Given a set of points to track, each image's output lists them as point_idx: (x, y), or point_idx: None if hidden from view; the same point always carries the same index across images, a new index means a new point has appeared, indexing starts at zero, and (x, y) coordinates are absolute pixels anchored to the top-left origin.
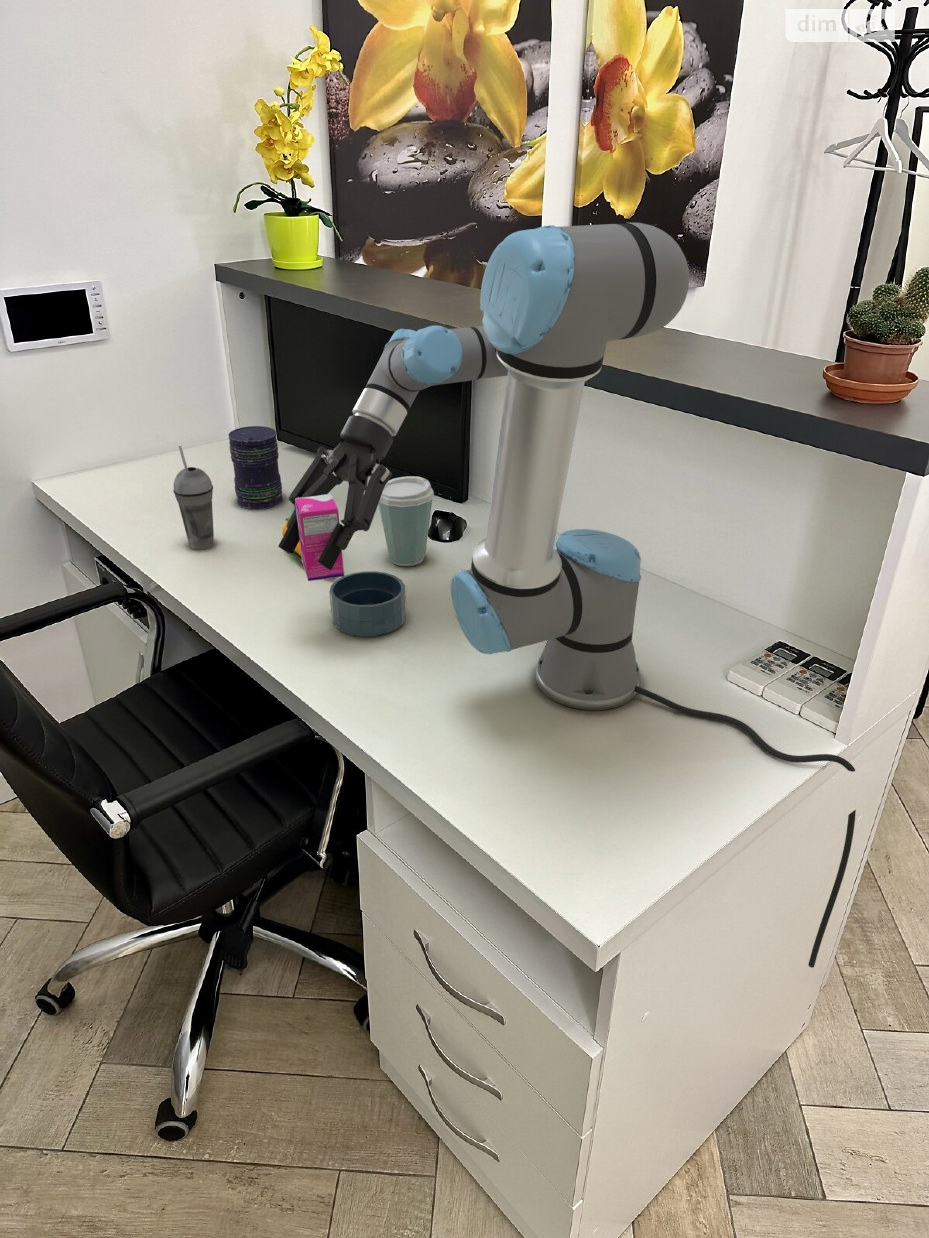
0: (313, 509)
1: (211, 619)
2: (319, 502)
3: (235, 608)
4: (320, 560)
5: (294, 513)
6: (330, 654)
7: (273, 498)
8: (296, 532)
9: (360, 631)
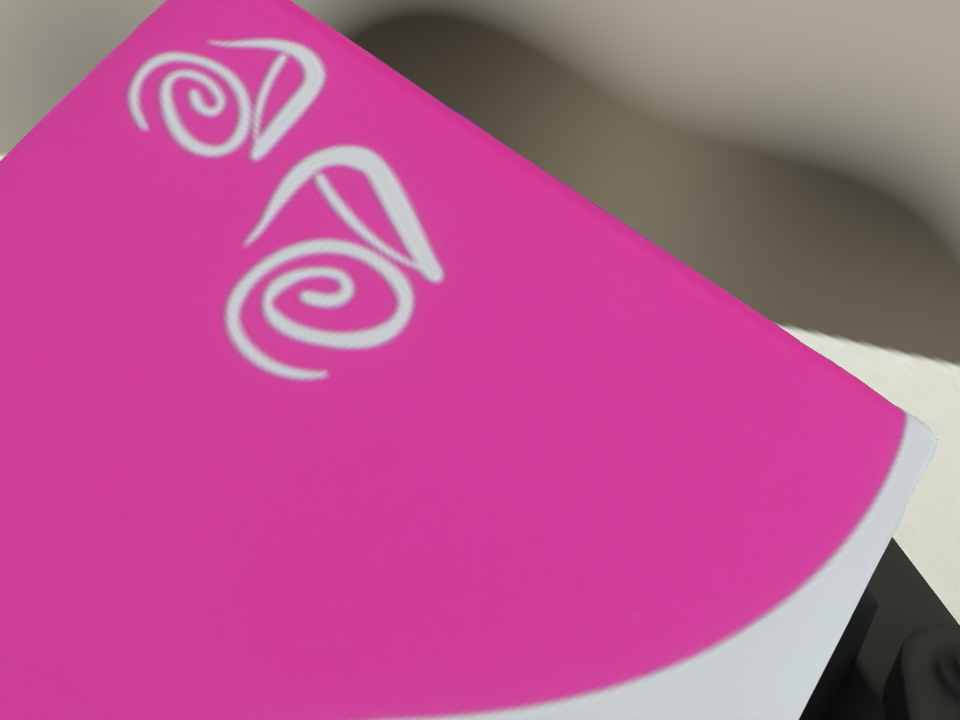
0: (73, 223)
1: (903, 370)
2: (222, 631)
3: (917, 503)
4: None
5: (899, 597)
6: None
7: None
8: None
9: None
